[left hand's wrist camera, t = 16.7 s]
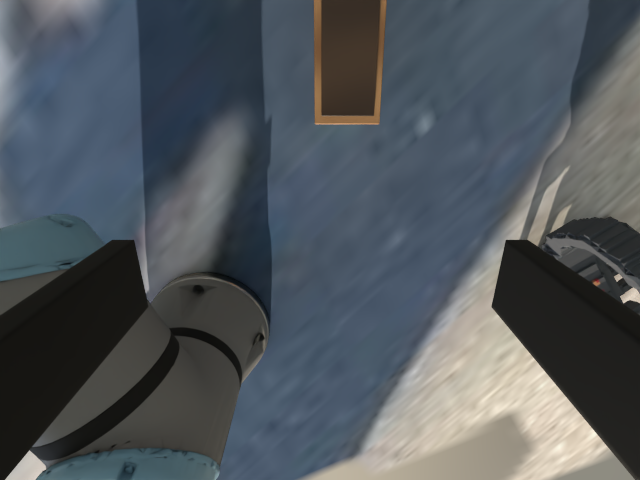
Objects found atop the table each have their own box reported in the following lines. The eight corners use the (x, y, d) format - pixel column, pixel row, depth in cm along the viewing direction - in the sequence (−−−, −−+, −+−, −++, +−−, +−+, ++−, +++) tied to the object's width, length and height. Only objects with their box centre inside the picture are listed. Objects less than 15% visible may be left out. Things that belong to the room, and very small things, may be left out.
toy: (580, 152, 37) (803, 196, 20) (658, 320, 45) (865, 455, 28) (468, 223, 40) (578, 315, 23) (559, 369, 48) (692, 518, 31)
